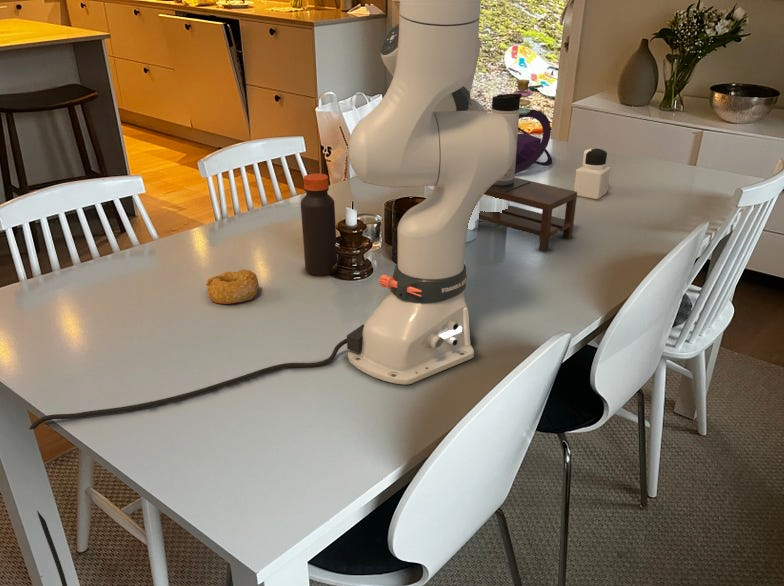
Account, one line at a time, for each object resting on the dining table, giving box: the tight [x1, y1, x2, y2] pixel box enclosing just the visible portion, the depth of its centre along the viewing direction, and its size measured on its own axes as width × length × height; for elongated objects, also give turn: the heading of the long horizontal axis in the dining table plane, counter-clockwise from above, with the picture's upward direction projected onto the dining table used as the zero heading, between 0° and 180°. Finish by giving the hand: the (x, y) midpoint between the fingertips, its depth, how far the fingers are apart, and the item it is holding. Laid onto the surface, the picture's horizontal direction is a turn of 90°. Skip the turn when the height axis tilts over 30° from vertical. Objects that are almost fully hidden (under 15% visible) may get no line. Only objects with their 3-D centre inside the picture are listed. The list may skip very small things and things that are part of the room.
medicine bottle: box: [573, 148, 611, 200], centre depth 200 cm, size 7×7×12 cm
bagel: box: [205, 269, 259, 305], centre depth 145 cm, size 10×11×5 cm
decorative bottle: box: [512, 78, 553, 174], centre depth 220 cm, size 22×21×25 cm
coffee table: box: [478, 176, 578, 253], centre depth 174 cm, size 12×22×11 cm, turn 50°
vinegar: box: [300, 172, 338, 277], centre depth 153 cm, size 7×7×20 cm
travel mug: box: [490, 93, 523, 186], centre depth 170 cm, size 6×7×20 cm
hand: (466, 134), depth 161 cm, fingers open, 8 cm apart
